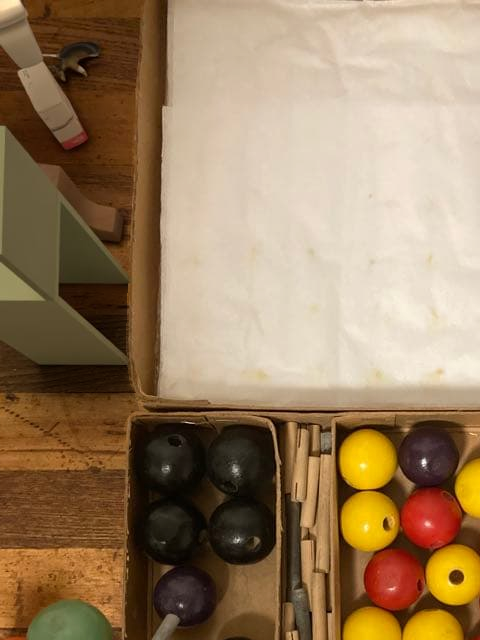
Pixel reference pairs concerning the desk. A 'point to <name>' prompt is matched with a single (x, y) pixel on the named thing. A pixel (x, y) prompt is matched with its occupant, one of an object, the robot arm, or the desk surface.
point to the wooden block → (86, 206)
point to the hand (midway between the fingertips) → (23, 30)
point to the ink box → (52, 105)
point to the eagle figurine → (73, 57)
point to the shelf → (47, 267)
